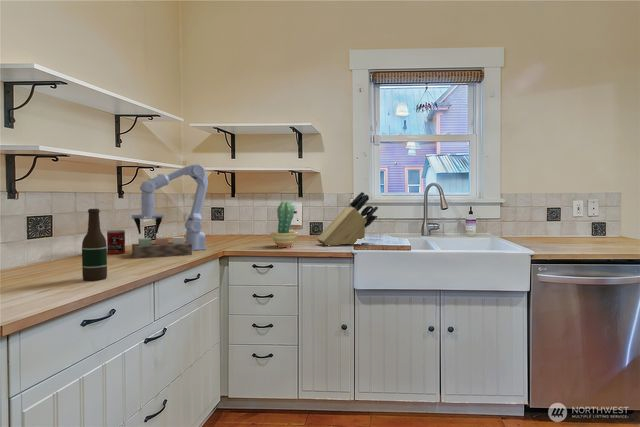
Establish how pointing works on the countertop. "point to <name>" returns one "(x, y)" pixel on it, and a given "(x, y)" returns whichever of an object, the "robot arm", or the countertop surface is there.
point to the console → (161, 250)
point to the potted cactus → (284, 226)
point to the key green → (144, 241)
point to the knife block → (349, 223)
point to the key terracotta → (162, 241)
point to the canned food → (116, 241)
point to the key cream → (178, 240)
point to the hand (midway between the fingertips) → (148, 233)
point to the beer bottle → (94, 250)
